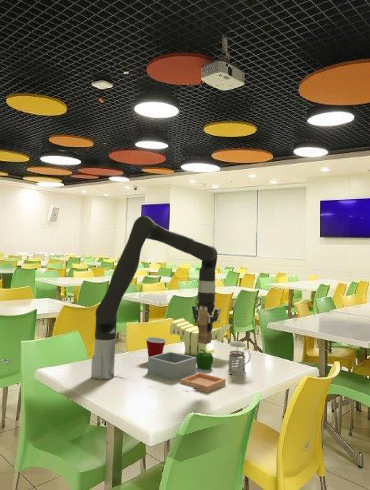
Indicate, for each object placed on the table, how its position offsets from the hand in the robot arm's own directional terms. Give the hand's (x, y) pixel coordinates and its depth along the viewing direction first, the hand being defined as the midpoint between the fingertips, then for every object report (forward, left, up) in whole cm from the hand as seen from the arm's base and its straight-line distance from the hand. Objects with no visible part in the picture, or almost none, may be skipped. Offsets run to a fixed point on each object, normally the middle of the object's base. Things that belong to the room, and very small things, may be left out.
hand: (205, 330), depth 177 cm
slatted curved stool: (+44, +33, -24) cm, 60 cm away
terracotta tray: (0, 0, -23) cm, 23 cm away
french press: (+27, -2, -24) cm, 36 cm away
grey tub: (+2, +19, -23) cm, 30 cm away
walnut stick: (0, 0, -5) cm, 5 cm away
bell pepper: (+20, +13, -24) cm, 34 cm away
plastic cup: (+13, +39, -24) cm, 47 cm away
